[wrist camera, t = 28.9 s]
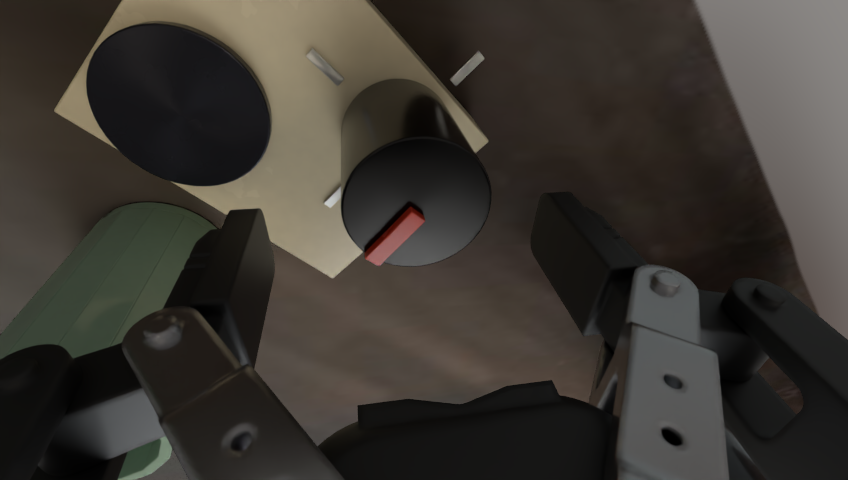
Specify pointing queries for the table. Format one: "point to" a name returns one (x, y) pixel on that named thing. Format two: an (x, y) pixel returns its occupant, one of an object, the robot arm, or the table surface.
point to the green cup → (112, 293)
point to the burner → (179, 103)
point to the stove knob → (409, 176)
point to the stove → (292, 104)
